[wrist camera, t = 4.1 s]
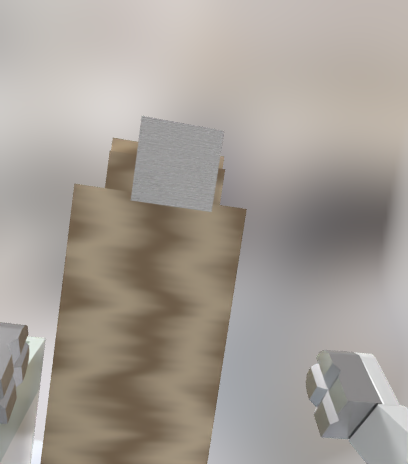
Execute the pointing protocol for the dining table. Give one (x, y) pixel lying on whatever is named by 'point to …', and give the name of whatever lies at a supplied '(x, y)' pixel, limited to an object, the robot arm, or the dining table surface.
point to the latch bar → (176, 164)
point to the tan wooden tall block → (140, 325)
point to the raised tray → (23, 410)
